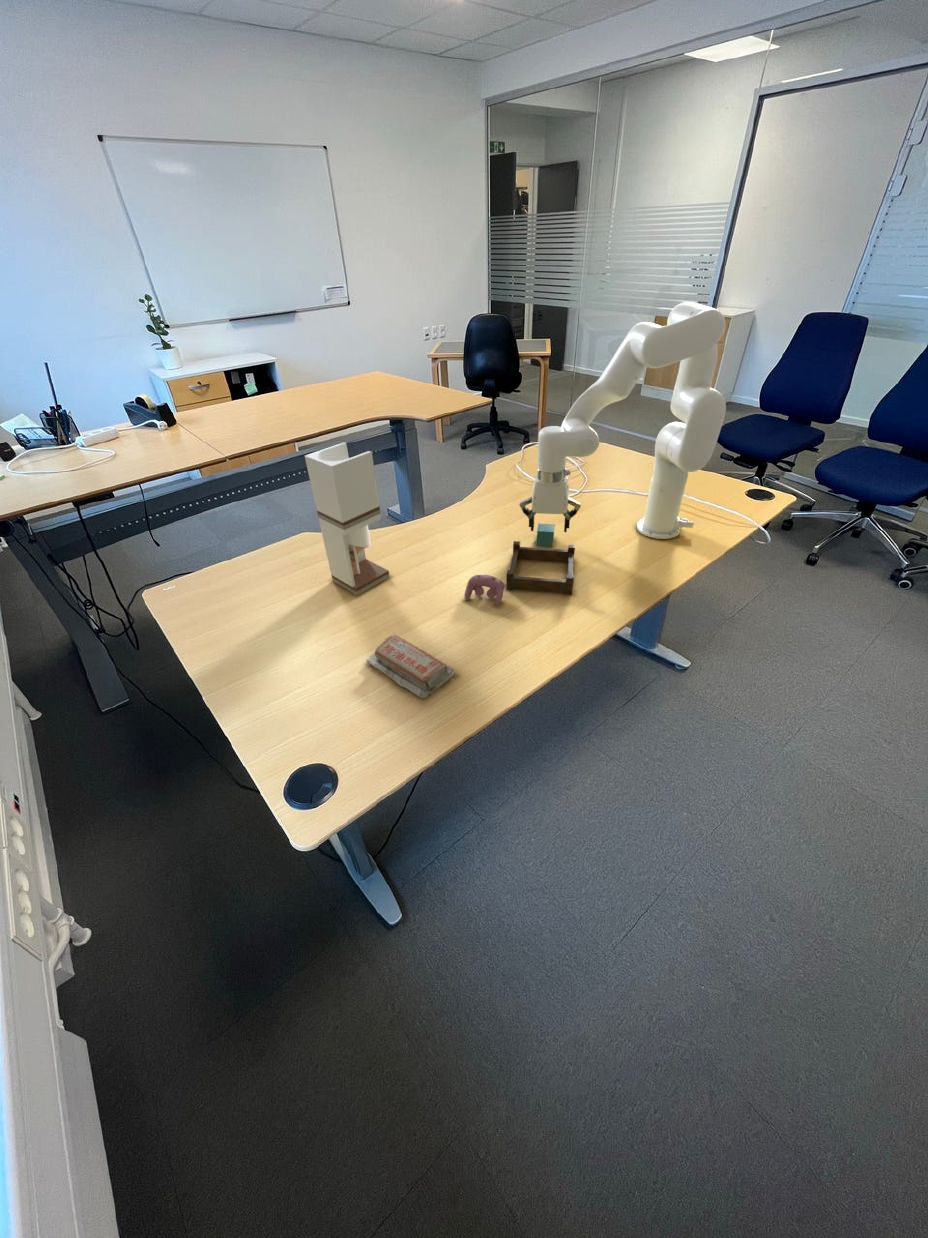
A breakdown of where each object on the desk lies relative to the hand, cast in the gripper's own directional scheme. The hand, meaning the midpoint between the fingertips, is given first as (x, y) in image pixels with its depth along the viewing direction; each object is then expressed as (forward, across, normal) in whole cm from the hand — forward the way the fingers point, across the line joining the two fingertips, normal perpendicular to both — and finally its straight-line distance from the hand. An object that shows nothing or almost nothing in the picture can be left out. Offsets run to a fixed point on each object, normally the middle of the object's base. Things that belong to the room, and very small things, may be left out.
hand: (548, 529), depth 153 cm
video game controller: (+4, +14, +31) cm, 35 cm away
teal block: (+4, +1, 0) cm, 4 cm away
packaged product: (+3, +26, +60) cm, 66 cm away
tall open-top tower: (+2, +49, +27) cm, 56 cm away
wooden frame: (+4, +1, +18) cm, 19 cm away
